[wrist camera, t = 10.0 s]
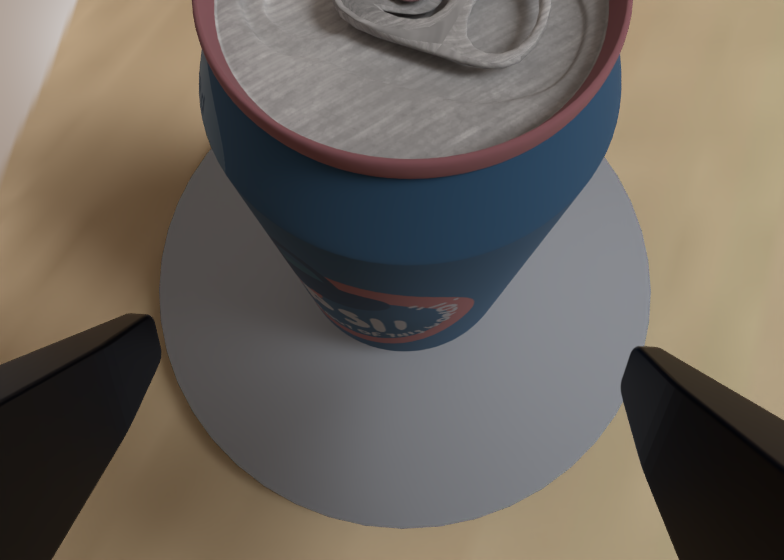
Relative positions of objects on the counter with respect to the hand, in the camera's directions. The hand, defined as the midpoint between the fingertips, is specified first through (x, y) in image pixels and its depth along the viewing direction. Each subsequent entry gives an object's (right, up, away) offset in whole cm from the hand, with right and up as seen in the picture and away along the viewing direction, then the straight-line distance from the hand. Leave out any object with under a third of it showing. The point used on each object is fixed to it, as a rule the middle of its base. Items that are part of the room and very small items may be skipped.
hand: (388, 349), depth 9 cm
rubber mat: (0, +2, +10) cm, 10 cm away
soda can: (0, +2, +9) cm, 9 cm away
